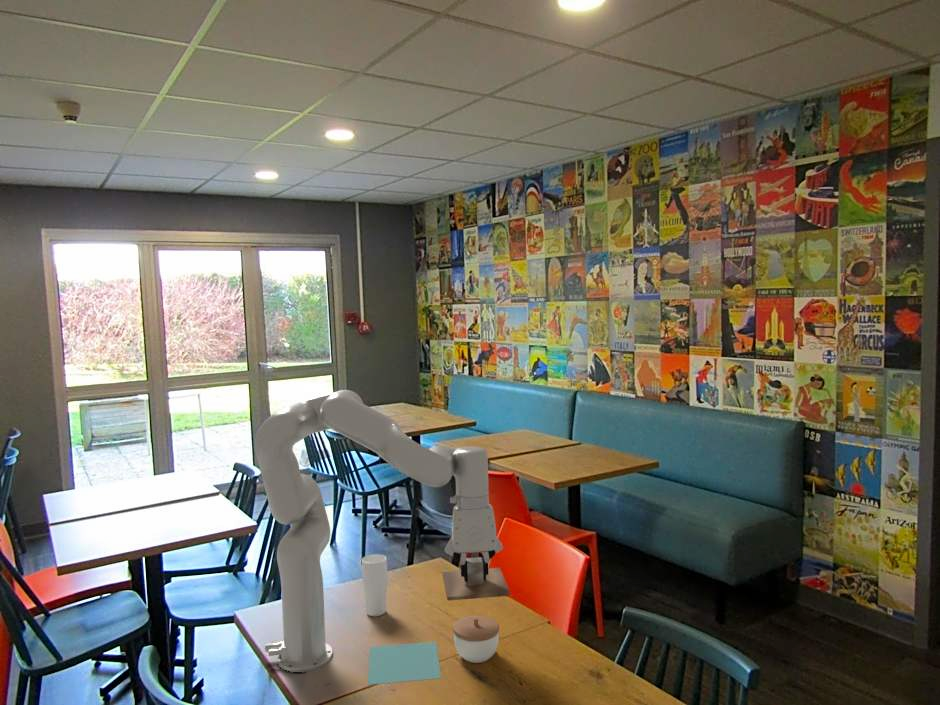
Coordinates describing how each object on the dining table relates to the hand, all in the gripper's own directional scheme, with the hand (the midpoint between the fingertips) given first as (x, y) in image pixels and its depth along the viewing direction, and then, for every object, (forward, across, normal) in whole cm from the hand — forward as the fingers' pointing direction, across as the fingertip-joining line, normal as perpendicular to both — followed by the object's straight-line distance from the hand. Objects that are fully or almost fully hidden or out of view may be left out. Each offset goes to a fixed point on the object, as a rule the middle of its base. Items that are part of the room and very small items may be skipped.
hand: (474, 577), depth 151 cm
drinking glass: (+19, -24, +27) cm, 41 cm away
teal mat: (+19, -17, 0) cm, 26 cm away
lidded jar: (+19, 0, 0) cm, 19 cm away
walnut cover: (+2, 0, 0) cm, 2 cm away
